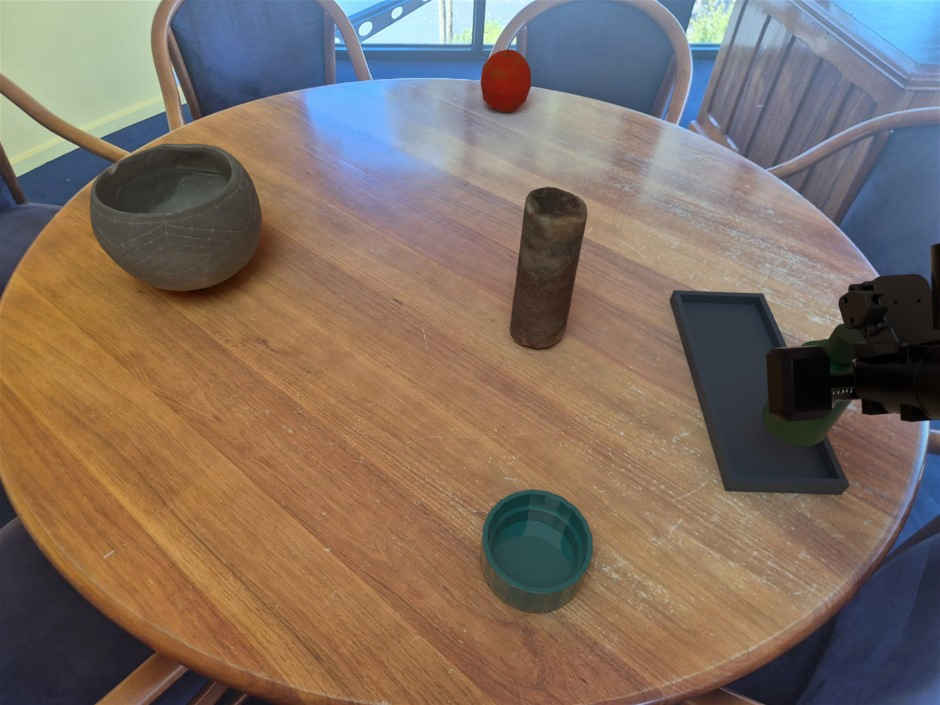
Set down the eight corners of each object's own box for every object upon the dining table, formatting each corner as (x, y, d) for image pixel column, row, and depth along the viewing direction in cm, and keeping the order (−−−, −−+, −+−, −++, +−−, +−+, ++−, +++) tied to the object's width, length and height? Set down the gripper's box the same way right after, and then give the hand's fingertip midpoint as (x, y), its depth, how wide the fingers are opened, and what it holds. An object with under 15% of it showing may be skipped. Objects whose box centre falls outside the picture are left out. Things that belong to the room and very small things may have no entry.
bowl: (232, 330, 82) (198, 236, 71) (90, 303, 84) (36, 209, 73) (297, 236, 96) (278, 146, 85) (173, 216, 98) (139, 126, 87)
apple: (490, 92, 132) (493, 35, 123) (535, 102, 129) (541, 44, 121) (472, 112, 125) (473, 53, 117) (518, 122, 123) (524, 63, 114)
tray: (841, 495, 67) (850, 485, 66) (725, 491, 67) (731, 481, 65) (758, 303, 88) (763, 293, 86) (669, 300, 88) (673, 289, 86)
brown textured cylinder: (531, 304, 86) (549, 177, 72) (576, 329, 83) (603, 201, 69) (498, 333, 82) (509, 205, 68) (543, 360, 79) (565, 231, 65)
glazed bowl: (604, 558, 61) (614, 534, 58) (542, 638, 56) (549, 617, 52) (523, 496, 66) (527, 471, 62) (459, 565, 60) (459, 541, 57)
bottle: (836, 446, 63) (903, 360, 54) (774, 446, 63) (831, 359, 54) (811, 398, 68) (870, 310, 58) (753, 397, 67) (803, 309, 58)
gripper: (1058, 268, 47) (896, 285, 62) (827, 282, 45) (719, 296, 60) (1063, 414, 47) (901, 395, 63) (834, 434, 45) (725, 409, 61)
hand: (813, 371), depth 62 cm, fingers closed on bottle, 6 cm apart
